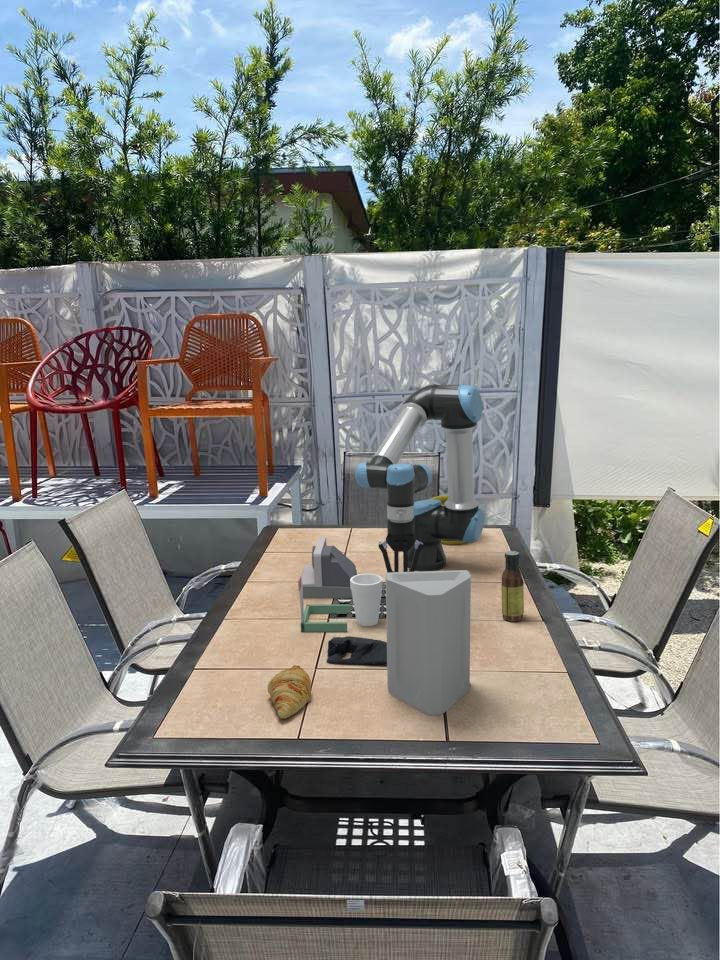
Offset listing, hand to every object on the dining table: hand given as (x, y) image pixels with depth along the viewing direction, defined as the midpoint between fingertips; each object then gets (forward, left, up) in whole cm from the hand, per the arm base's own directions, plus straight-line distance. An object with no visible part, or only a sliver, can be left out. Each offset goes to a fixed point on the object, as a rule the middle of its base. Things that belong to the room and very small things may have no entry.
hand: (401, 598), depth 202 cm
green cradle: (+22, +1, -7) cm, 23 cm away
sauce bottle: (-32, -2, -7) cm, 33 cm away
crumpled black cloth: (+8, +20, -8) cm, 23 cm away
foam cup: (+10, 0, -7) cm, 12 cm away
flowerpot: (-21, -79, -7) cm, 82 cm away
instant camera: (+23, -28, -8) cm, 37 cm away
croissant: (+26, +43, -8) cm, 51 cm away
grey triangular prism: (-6, +43, -7) cm, 44 cm away
